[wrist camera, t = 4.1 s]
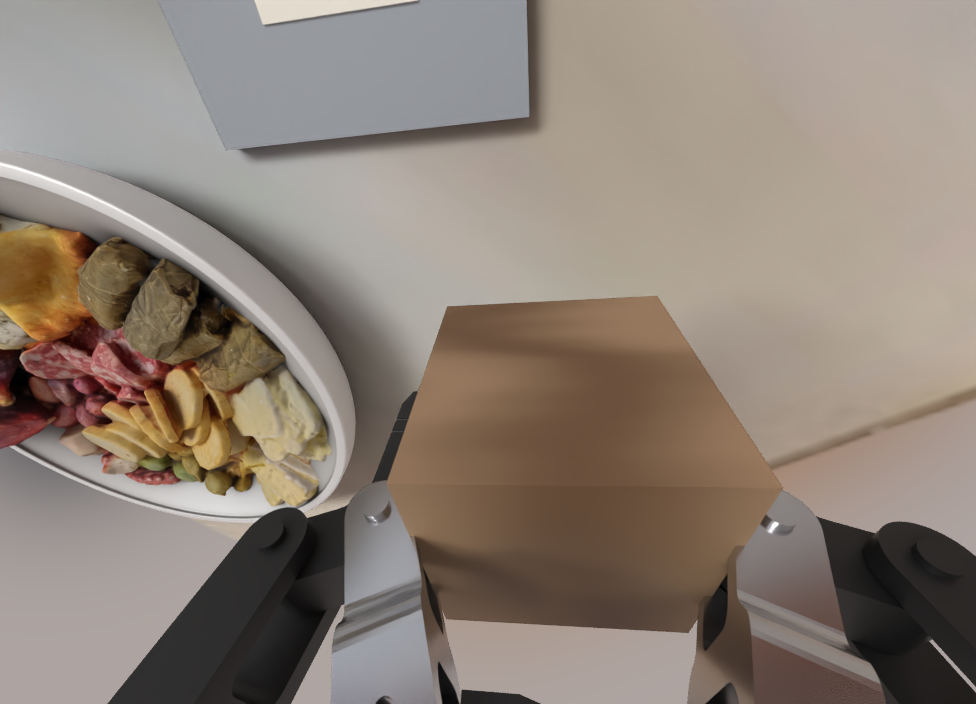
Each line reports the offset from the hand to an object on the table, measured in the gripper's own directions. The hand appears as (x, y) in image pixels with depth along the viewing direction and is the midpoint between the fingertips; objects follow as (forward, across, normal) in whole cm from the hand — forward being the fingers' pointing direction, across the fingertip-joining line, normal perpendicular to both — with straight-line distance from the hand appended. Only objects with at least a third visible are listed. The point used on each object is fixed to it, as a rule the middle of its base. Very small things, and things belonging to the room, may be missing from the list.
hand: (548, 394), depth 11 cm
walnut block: (+1, 0, 0) cm, 1 cm away
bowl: (+13, +28, +7) cm, 31 cm away
